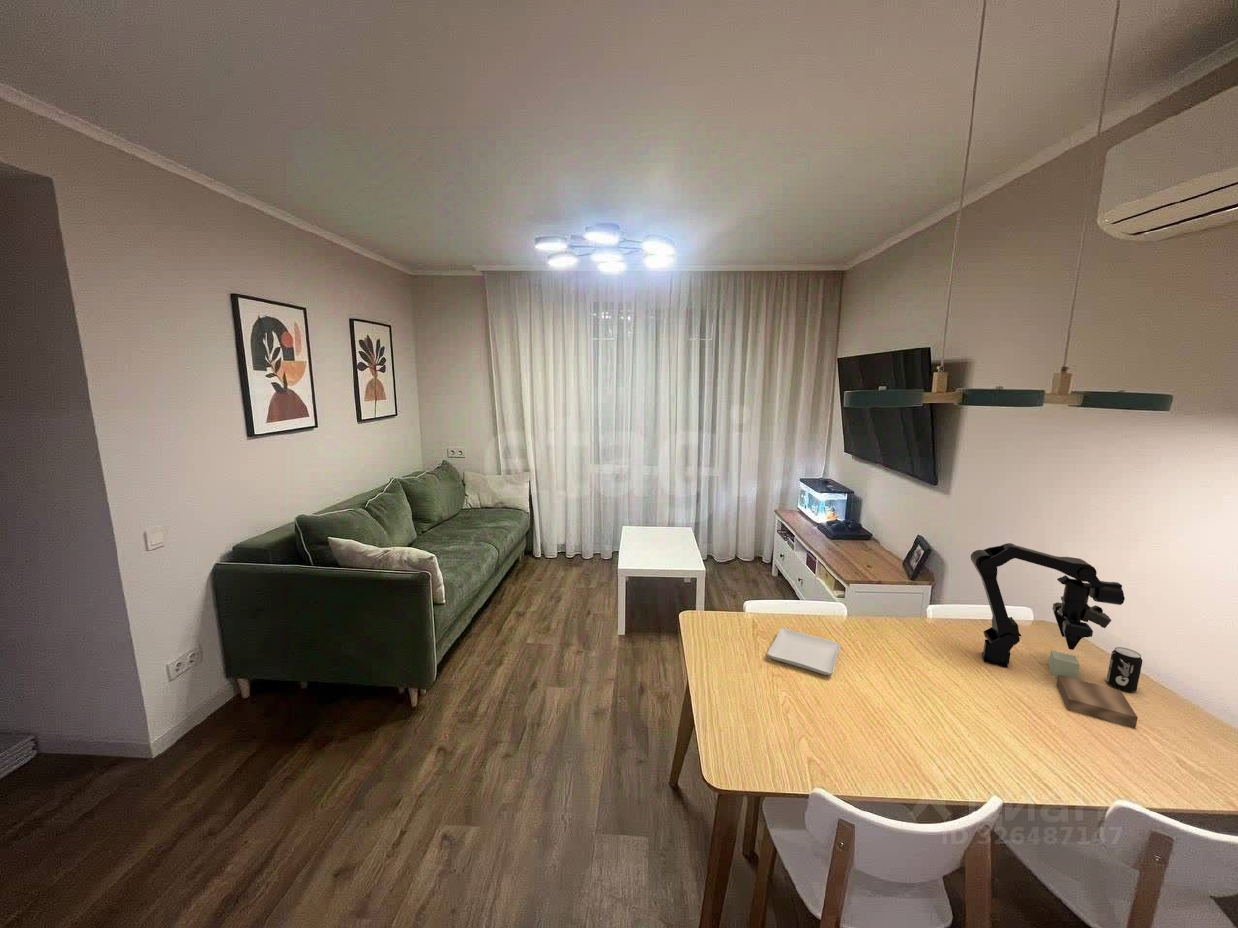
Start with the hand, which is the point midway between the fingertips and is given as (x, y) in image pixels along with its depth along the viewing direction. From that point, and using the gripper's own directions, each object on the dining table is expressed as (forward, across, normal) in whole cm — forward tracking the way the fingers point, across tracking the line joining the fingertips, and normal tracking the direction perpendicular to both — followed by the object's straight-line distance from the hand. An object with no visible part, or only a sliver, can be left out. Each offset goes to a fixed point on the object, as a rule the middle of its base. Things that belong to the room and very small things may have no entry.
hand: (1067, 642), depth 153 cm
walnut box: (+12, -16, -4) cm, 20 cm away
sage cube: (+11, 0, 0) cm, 11 cm away
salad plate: (+12, -36, +74) cm, 83 cm away
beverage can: (+11, +1, -14) cm, 18 cm away
